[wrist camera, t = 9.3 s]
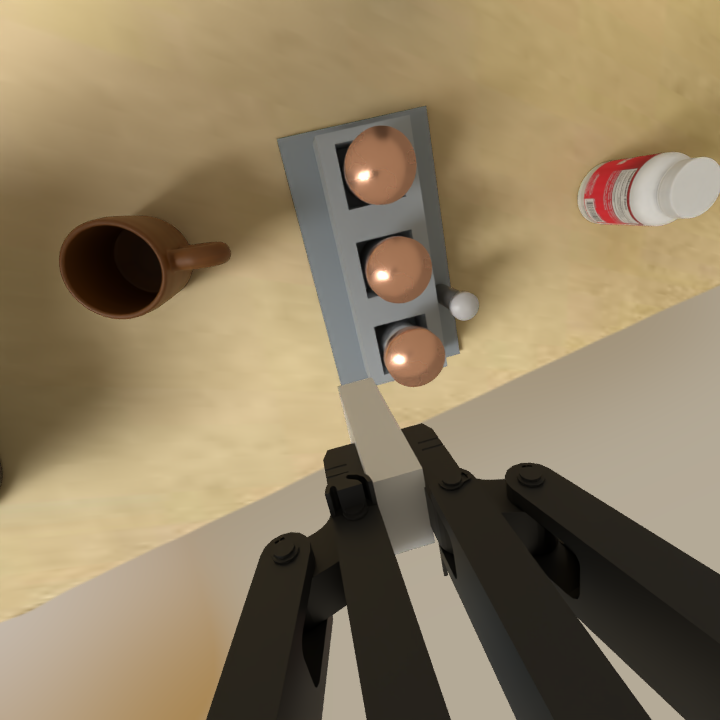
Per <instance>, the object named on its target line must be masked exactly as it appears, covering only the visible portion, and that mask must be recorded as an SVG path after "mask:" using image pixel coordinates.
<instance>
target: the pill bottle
mask: <svg viewBox="0 0 720 720" xmlns="http://www.w3.org/2000/svg"><path fill="white" fill-rule="evenodd" d="M719 193H720V166H719V165H718V163H717V162H716V161H715V160H713V159H711V158H708V157H696V158H690V157H689V156H687V155H685V154H683V153H679V152H666V153H659V154H653V155H646V156H640V157H634V158H627V159H621V160H614V161H608V162H604V163H601V164H599V165H597V166H596V167H594V168H593V169H592V170H590V171H589V172H588V174H587V175H586V176H585V177H584V179H583V181H582V183H581V185H580V188H579V191H578V207H579V210H580V212H581V214H582V215H583V216H584V218H586V219H587V220H588V221H590V222H593V223H596V224H610V225H612V224H613V225H637V226H661V225H666V224H669V223H671V222H673V221H675V220H676V219H679V218H694V217H697V216H699V215H701V214H703V213H704V212H705V211H707V210H708V209H709V208H710V207H711V206H712V205H713V203H714V202H715V201H716V199H717V197H718V195H719Z"/></svg>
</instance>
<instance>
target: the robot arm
mask: <svg viewBox="0 0 720 720" xmlns="http://www.w3.org/2000/svg"><path fill="white" fill-rule="evenodd" d="M338 390H339V395H340V399H341V403H342V407H343V411H344V415H345V419H346V424H347V428H348V432H349V436H350V440H351V444H349V445H345V446H341V447H338V448H334V449H331V450H327V453H326V455H325V457H324V460H323V461H324V467H325V473H326V478H327V484H328V485H327V487H326V490H325V496H326V500H327V503H328V507H329V510H330V514H331V516H330V518H329V520H328V522H327V523H326V524H325V525H324V526H323V527H322V528H321V529H320V530H318V531H317V532H316V533H314V534H312V535H311V536H309V537H306V536H305V535H303V534H301V533H293V532H290V533H287V534H283V535H280V536H278V537H277V538H275V539H273V540H272V541H271V542H270V543H269V544H268V545H267V546H266V547H265V548H264V550H263V552H262V554H261V556H260V559H259V562H258V565H257V568H256V571H255V574H254V577H253V580H252V583H251V586H250V589H249V592H248V595H247V598H246V601H245V604H244V607H243V610H242V613H241V616H240V619H239V622H238V625H237V628H236V632H235V634H234V638H233V641H232V643H231V646H230V649H229V652H228V656H227V658H226V661H225V664H224V667H223V671H222V674H221V677H220V680H219V683H218V686H217V689H216V692H215V695H214V698H213V701H212V704H211V707H210V710H209V713H208V716H207V719H206V720H322V711H323V703H324V694H325V684H326V676H327V667H328V659H329V649H330V640H331V632H332V624H333V614H335V613H336V612H337V611H339V610H340V609H342V608H343V607H345V606H346V605H347V609H348V615H349V620H350V625H351V632H352V638H353V643H354V649H355V655H356V660H357V666H358V672H359V678H360V683H361V689H362V695H363V701H364V707H365V712H366V718H367V720H451V719H450V716H449V713H448V710H447V707H446V704H445V701H444V698H443V695H442V692H441V689H440V686H439V684H438V681H437V677H436V675H435V672H434V669H433V666H432V663H431V660H430V657H429V654H428V651H427V648H426V645H425V642H424V640H423V636H422V633H421V630H420V627H419V624H418V622H417V618H416V616H415V613H414V610H413V607H412V604H411V601H410V598H409V595H408V592H407V589H406V586H405V583H404V580H403V578H402V574H401V571H400V569H399V566H398V562H397V559H396V557H395V555H396V554H400V553H403V552H406V551H409V550H412V549H416V548H419V547H422V546H425V545H429V544H432V543H434V542H435V540H434V535H433V532H434V534H435V536H436V538H437V540H438V542H439V548H440V554H441V560H442V567H443V572H444V576H447V575H448V573H449V575H450V577H451V579H452V581H453V584H454V586H455V588H456V590H457V592H458V594H459V597H460V599H461V601H462V603H463V605H464V607H465V609H466V612H467V614H468V616H469V618H470V620H471V622H472V624H473V627H474V629H475V631H476V633H477V635H478V638H479V640H480V642H481V644H482V646H483V648H484V651H485V653H486V655H487V657H488V659H489V661H490V663H491V665H492V668H493V670H494V672H495V674H496V676H497V679H498V681H499V683H500V685H501V687H502V689H503V691H504V694H505V696H506V698H507V700H508V702H509V704H510V707H511V709H512V711H513V713H514V715H515V717H516V719H517V720H651V718H650V717H649V715H648V714H647V713H646V712H645V710H644V709H643V707H642V706H641V705H640V703H639V702H638V701H637V699H636V698H635V696H634V695H633V694H632V692H631V691H630V689H629V688H628V687H627V685H626V684H625V683H624V681H623V680H622V678H621V677H620V676H619V674H618V673H617V672H616V670H615V669H614V668H613V666H612V665H611V663H610V662H609V661H608V659H607V658H606V656H605V655H604V654H603V652H602V651H601V650H600V648H599V647H598V645H597V644H596V643H595V641H594V640H593V639H592V637H591V636H590V635H589V633H588V632H587V630H586V629H585V628H584V626H583V625H582V623H581V622H580V621H579V619H580V620H581V621H582V622H583V623H584V624H585V625H586V626H587V627H588V628H589V629H590V630H591V631H592V632H593V633H594V634H596V636H598V637H599V638H600V639H601V640H602V641H603V642H604V643H605V644H606V645H607V646H608V647H609V648H610V649H611V650H612V651H614V653H616V654H617V655H618V656H619V657H620V658H621V659H622V660H623V661H624V662H625V663H626V664H627V665H628V666H629V667H630V668H631V669H633V670H634V671H635V672H636V673H637V674H638V675H639V676H640V677H641V678H642V679H643V680H644V681H645V682H646V683H647V684H648V685H649V686H650V687H651V688H653V689H654V690H655V691H656V692H657V693H658V694H659V695H660V696H661V697H662V698H663V699H664V700H665V701H666V702H667V703H668V704H669V705H671V706H672V707H673V708H674V709H675V710H676V711H677V712H678V713H679V714H680V715H681V716H682V717H683V718H684V719H685V720H720V574H718V573H717V572H715V571H713V570H712V569H710V568H709V567H707V566H705V565H704V564H702V563H700V562H699V561H697V560H696V559H694V558H692V557H691V556H689V555H688V554H686V553H684V552H683V551H681V550H680V549H678V548H676V547H675V546H673V545H671V544H670V543H668V542H667V541H665V540H663V539H662V538H660V537H658V536H657V535H655V534H654V533H652V532H651V531H649V530H647V529H646V528H644V527H643V526H641V525H639V524H638V523H636V522H634V521H633V520H631V519H630V518H628V517H626V516H625V515H623V514H622V513H620V512H618V511H617V510H615V509H614V508H612V507H610V506H609V505H607V504H606V503H604V502H602V501H601V500H599V499H597V498H596V497H594V496H593V495H591V494H589V493H588V492H586V491H585V490H583V489H581V488H580V487H578V486H577V485H575V484H573V483H572V482H570V481H569V480H567V479H565V478H564V477H562V476H560V475H559V474H557V473H555V472H554V471H552V470H551V469H549V468H547V467H545V466H543V465H540V464H534V463H520V464H518V465H514V466H512V467H511V468H510V469H508V470H507V472H506V475H505V479H500V480H481V479H476V478H475V477H474V476H473V475H472V474H471V473H470V472H469V471H467V470H464V469H462V468H459V466H458V465H457V463H456V462H455V461H454V459H453V458H452V456H451V455H450V454H449V452H448V451H447V449H446V448H445V446H444V445H443V444H442V442H441V441H440V439H438V436H437V435H436V434H435V432H434V431H433V429H432V428H430V427H428V426H426V425H424V424H422V423H421V424H418V425H414V426H410V427H407V428H403V429H400V427H399V425H398V423H397V422H396V420H395V418H394V416H393V414H392V413H391V411H390V409H389V407H388V405H387V404H386V402H385V400H384V398H383V396H382V395H381V393H380V391H379V389H378V387H377V386H376V384H375V382H374V380H373V378H368V379H365V380H361V381H357V382H353V383H349V384H345V385H342V386H338ZM1 483H2V467H1V463H0V487H1ZM447 571H448V572H447ZM578 618H579V619H578Z"/></svg>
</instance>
